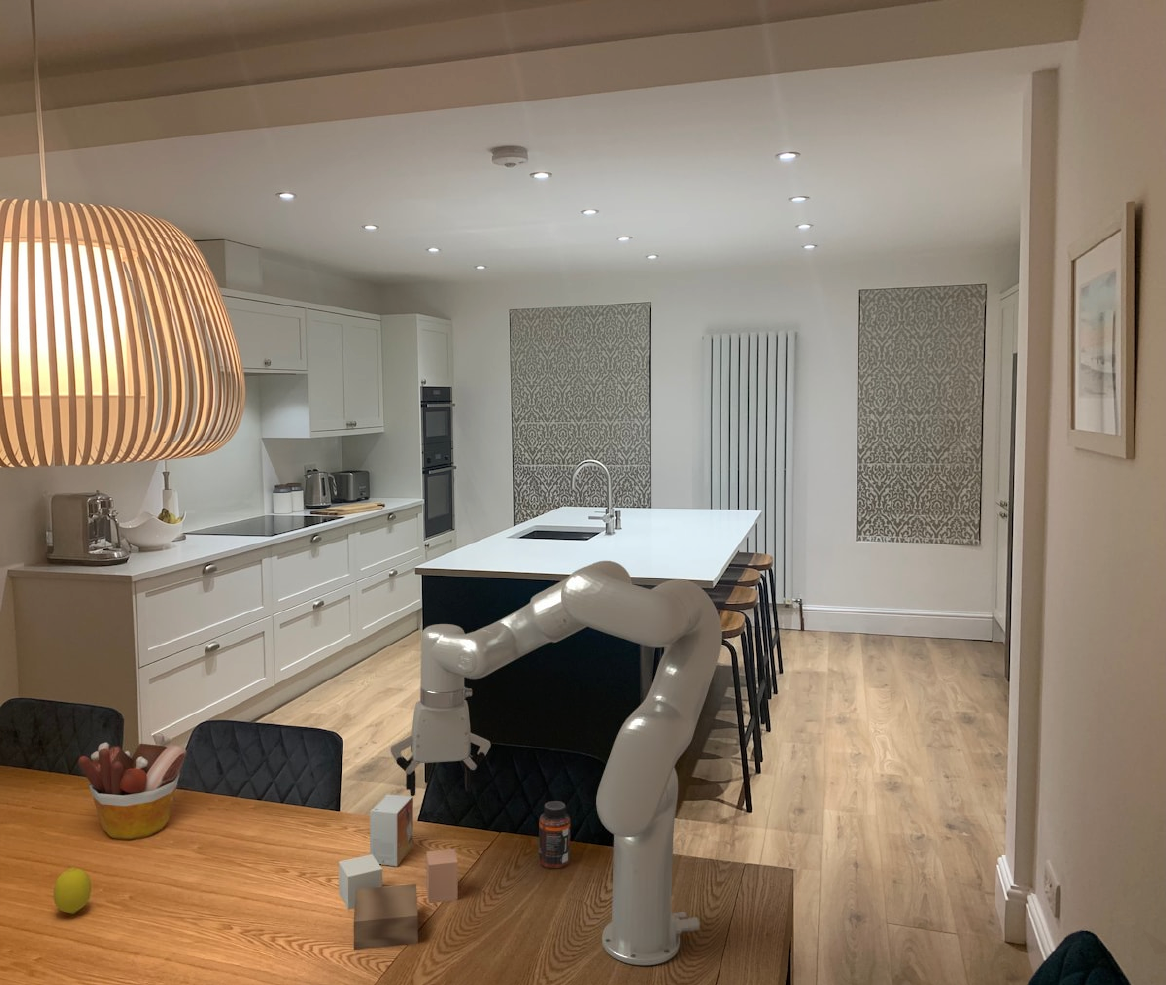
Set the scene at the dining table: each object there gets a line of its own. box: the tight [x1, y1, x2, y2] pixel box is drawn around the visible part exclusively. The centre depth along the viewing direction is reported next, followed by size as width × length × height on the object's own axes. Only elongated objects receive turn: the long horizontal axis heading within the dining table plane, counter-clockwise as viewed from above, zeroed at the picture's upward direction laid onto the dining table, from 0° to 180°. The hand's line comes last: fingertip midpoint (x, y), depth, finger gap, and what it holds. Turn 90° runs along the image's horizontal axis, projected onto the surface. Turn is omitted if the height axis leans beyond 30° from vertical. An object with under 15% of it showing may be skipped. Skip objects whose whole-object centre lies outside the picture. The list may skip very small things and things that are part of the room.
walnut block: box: [353, 883, 419, 951], centre depth 150 cm, size 10×10×5 cm
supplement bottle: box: [538, 800, 571, 869], centre depth 173 cm, size 6×6×11 cm
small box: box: [369, 794, 414, 867], centre depth 174 cm, size 8×6×10 cm
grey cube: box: [338, 853, 383, 911], centre depth 160 cm, size 6×6×6 cm
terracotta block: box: [425, 848, 459, 904], centre depth 161 cm, size 5×5×7 cm
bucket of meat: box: [77, 732, 187, 841], centre depth 183 cm, size 20×16×20 cm
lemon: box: [53, 867, 92, 915], centre depth 153 cm, size 6×6×8 cm
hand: (440, 790), depth 160 cm, fingers open, 9 cm apart
